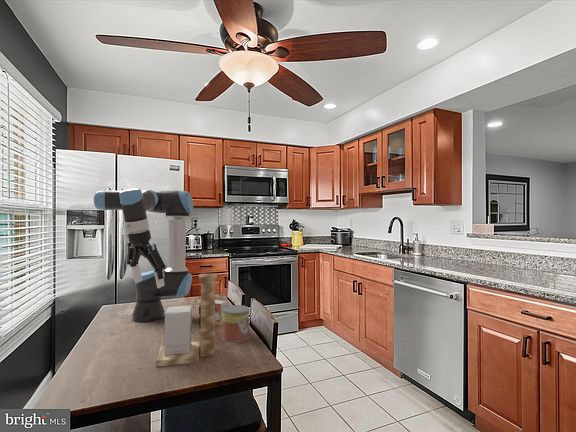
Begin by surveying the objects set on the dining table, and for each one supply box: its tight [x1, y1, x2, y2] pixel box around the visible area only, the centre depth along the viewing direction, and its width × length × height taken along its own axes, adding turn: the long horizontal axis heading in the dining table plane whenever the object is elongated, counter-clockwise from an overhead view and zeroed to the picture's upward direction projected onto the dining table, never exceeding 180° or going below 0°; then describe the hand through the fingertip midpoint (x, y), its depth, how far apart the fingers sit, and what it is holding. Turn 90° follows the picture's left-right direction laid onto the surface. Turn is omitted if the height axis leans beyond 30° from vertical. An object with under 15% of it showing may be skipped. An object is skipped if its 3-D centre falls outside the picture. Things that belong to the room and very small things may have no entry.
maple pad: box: [155, 340, 200, 368], centre depth 116 cm, size 14×14×2 cm
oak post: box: [198, 272, 218, 357], centre depth 118 cm, size 6×6×29 cm
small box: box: [215, 299, 228, 327], centre depth 151 cm, size 8×6×10 cm
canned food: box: [221, 304, 250, 343], centre depth 134 cm, size 11×11×12 cm
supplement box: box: [163, 305, 193, 355], centre depth 116 cm, size 9×9×15 cm
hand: (149, 284), depth 121 cm, fingers open, 13 cm apart
